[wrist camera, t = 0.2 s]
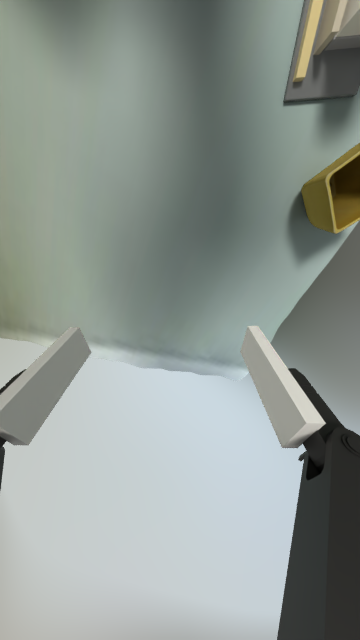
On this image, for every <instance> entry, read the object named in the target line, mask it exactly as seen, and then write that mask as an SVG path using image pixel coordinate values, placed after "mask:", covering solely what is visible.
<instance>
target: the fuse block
mask: <svg viewBox="0 0 360 640" xmlns="http://www.w3.org/2000/svg"><path fill="white" fill-rule="evenodd" d="M347 1H348V0H304V4H303V9H302V13H301V18H300V23H299V28H298V33H297V38H296V43H295V48H294V53H293V58H292V62H291V67H290V72H289V77H288V82H287V87H286V92H285V97H284V102H289V101H301V100H313V99H326V98H338V97H350V96H354V95H356V94H357V91H358V89H359V86H360V47H358V48H347V49H337V50H326V51H324V50H325V47H326V46H327V45H328V44H329V42H330V41H331V40H332V39H333V38H334V36H335V35H336V34H337V33H338V32H339V29H340V25H341V22H342V18H343V15H344V11H345V8H346V4H347Z"/></svg>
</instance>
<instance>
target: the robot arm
mask: <svg viewBox="0 0 360 640" xmlns="http://www.w3.org/2000/svg"><path fill="white" fill-rule="evenodd" d="M240 352H241V354H242V356H243V359H244V361H245V363H246V366H247V368H248V370H249V373H250V375H251V377H252V379H253V382H254V384H255V386H256V389H257V391H258V393H259V396H260V398H261V400H262V403H263V405H264V407H265V409H266V412H267V414H268V416H269V419H270V421H271V423H272V426H273V428H274V430H275V432H276V435H277V437H278V439H279V442H280V444H281V446H282V448H298V447H299V446H300V445H302V444H303V445H304V446H305V448H306V450H307V451H306V452H304V453H303V454H302V455H300V457H299V460H300V461H302V460H303V459H304V464H303V470H302V477H301V483H300V490H299V497H298V503H297V511H296V518H295V523H294V530H293V537H292V543H291V550H290V557H289V564H288V570H287V577H286V584H285V590H284V597H283V604H282V610H281V617H280V623H279V630H278V637H277V640H360V436H359V435H358V434H356V433H354V432H353V431H350V430H348V429H346V428H345V427H344V426H343V425H342V424H341V423H340V422H339V420H338V419H337V418H336V416H335V415H334V414H333V412H332V411H331V410H330V409H329V407H328V406H327V405H326V403H325V402H324V401H323V399H322V398H321V397H320V396H319V394H317V393H316V390H315V389H314V388H313V386H311V384H310V383H309V381H308V380H307V379H306V377H305V376H304V375H303V374H301V373H300V372H299V371H298V370H296V369H294V368H291V369H287V367H286V366H285V364H284V363H283V361H282V360H281V358H280V357H279V356H278V354H277V353H276V351H275V350H274V348H273V347H272V346H271V344H270V343H269V341H268V340H267V338H266V337H265V336H264V334H263V333H262V331H261V330H260V328H259V327H258V326H248V327H247V330H246V334H245V337H244V341H243V344H242V348H241V351H240ZM90 354H91V350H90V348H89V346H88V344H87V342H86V340H85V338H84V336H83V334H82V332H81V330H80V328H79V327H70V328H69V329H68V330H67V331H66V332H64V333H63V334H62V335H61V336H60V337H59V338H58V339H57V340H56V341H55V342H54V343H53V344H52V345H51V346H50V347H49V348H48V349H47V350H46V351H45V352H44V353H43V354H42V355H41V356H40V357H39V358H38V359H37V360H36V361H35V362H34V363H33V364H32V365H30V366H29V367H28V368H27V369H25V370H24V371H22V372H20V373H19V374H17V375H16V376H14V377H13V378H12V379H11V380H10V381H9V382H8V383H7V384H6V386H4V387H3V388H1V389H0V489H1V480H2V471H3V463H4V455H5V449H4V447H2V446H3V444H4V443H5V442H6V441H8V442H10V443H11V444H13V445H29V443H30V442H31V441H32V439H33V438H34V436H35V434H36V433H37V432H38V430H39V429H40V427H41V426H42V424H43V423H44V421H45V420H46V418H47V417H48V415H49V414H50V412H51V411H52V410H53V408H54V407H55V405H56V404H57V402H58V401H59V399H60V398H61V396H62V395H63V393H64V392H65V390H66V389H67V387H68V386H69V385H70V383H71V382H72V380H73V379H74V377H75V375H76V374H77V373H78V371H79V370H80V368H81V367H82V365H83V364H84V362H85V361H86V359H87V358H88V357H89V355H90Z"/></svg>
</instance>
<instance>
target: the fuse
mask: <svg viewBox="0 0 360 640" xmlns="http://www.w3.org/2000/svg"><path fill="white" fill-rule="evenodd" d="M358 47H360V0H348V1H347V4H346V8H345V11H344V15H343V18H342V22H341V25H340V29H339V32H338V33H337V34H336V35H335V36H334V38H333V39H332V40H331V41H330V42H329V44H328V45H327V46H326V47H325V50H324V51H326V50H337V49H347V48H358Z"/></svg>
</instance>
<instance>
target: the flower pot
mask: <svg viewBox="0 0 360 640" xmlns="http://www.w3.org/2000/svg"><path fill="white" fill-rule="evenodd" d="M329 184H330V185H329ZM301 193H302V197H303V201H304V205H305V209H306V213H307V216H308V219H309V221H310V222H311V224H312V225H313V226H315V227H317V228H319V229H322V230H325V231H328V232H332V233H334V234H337V233H339V232H341V231H342V230H344V229H346V228H347V227H349V226H351V225H352V224H354V223H355V222H357V221H359V220H360V143H359V144H357V145H356V146H355V147H353V148H352V149H350V150H349V151H348V152H346V153H345V154H344V155H343V156H341V157H340V158H339V159H337V160H336V161H335V162H333V163H332V164H331V165H329V166H328V167H327V168H325V169H324V170H323V171H321V172H320V173H319V174H317V175H316V176H315V177H313V178H312V179H311V180H309V181H308V182H307V183H305V184H304V185H303V187H302V190H301Z"/></svg>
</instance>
